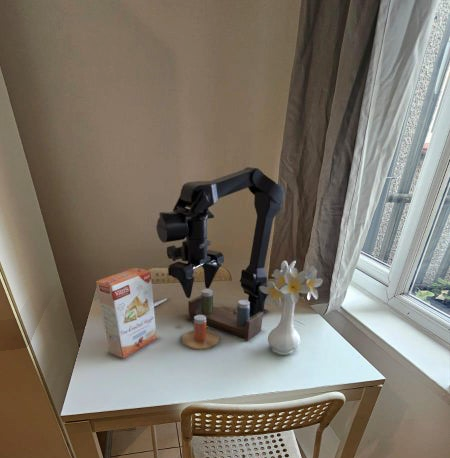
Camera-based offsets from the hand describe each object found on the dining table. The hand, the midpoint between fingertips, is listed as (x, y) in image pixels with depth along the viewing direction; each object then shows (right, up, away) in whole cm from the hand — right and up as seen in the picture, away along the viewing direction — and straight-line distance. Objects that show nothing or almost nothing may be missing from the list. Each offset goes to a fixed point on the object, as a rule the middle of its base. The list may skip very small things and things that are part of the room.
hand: (198, 292), depth 100 cm
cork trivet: (+1, -14, +2) cm, 14 cm away
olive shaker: (+2, -3, +12) cm, 12 cm away
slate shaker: (+14, -8, +5) cm, 17 cm away
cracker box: (-18, -16, -2) cm, 25 cm away
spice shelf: (+8, -8, +10) cm, 15 cm away
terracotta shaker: (+1, -13, +2) cm, 14 cm away
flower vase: (+25, -18, -2) cm, 31 cm away
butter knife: (-21, -2, +16) cm, 26 cm away
